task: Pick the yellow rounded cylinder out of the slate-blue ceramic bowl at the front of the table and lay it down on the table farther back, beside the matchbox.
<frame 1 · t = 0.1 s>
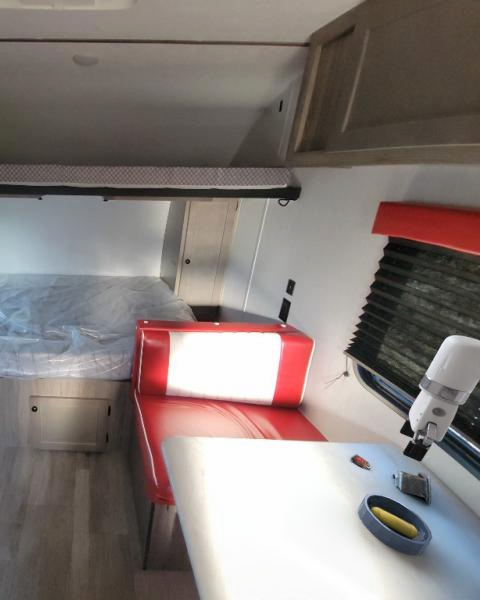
hand: (409, 446, 82), 21 cm above the table, tool pointing down, fingers open, 9 cm apart
matchbox: (360, 462, 103), on the table
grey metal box: (407, 485, 97), on the table
yellow rounded cylinder: (393, 522, 83), point 2 cm above the table, touching bowl
bowl: (389, 527, 84), on the table
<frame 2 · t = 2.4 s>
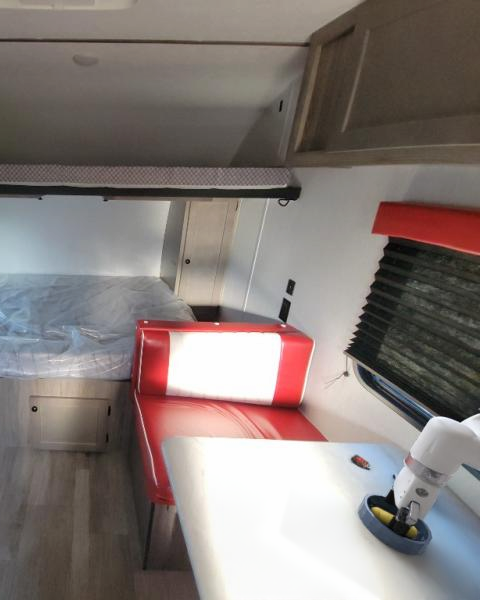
hand: (393, 517, 83), 3 cm above the table, tool pointing down, fingers open, 9 cm apart
nothing on the table moved.
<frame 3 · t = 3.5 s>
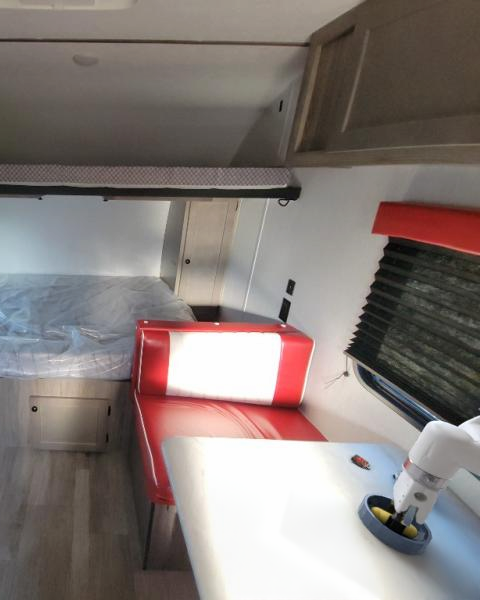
hand: (391, 524, 83), 1 cm above the table, tool pointing down, fingers closed on yellow rounded cylinder, 3 cm apart
yellow rounded cylinder: (393, 522, 83), point 2 cm above the table, touching bowl, gripper
everything else where it was.
when the fingers open (0 cm above the table, at t = 10.0 s): yellow rounded cylinder stays where it is, point 1 cm above the table.
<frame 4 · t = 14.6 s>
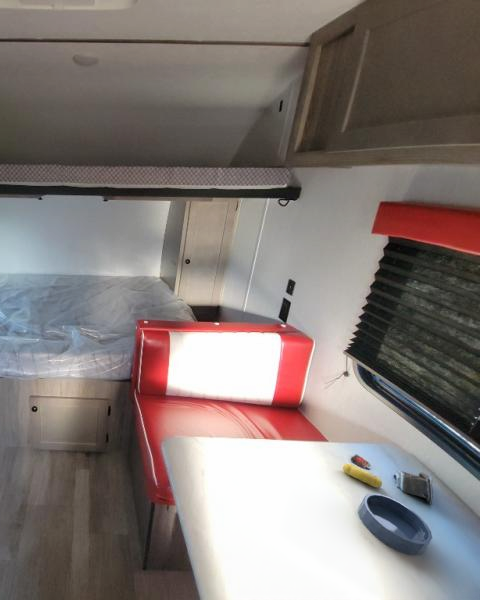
yellow rounded cylinder: (361, 475, 97), point 1 cm above the table, tilted 26°
everything else where it was.
at the end: yellow rounded cylinder inside the target area (0.7 cm from its centre), point 1.5 cm above the table; yellow rounded cylinder 8.3 cm from the matchbox (horizontally); the gripper is holding nothing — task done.
